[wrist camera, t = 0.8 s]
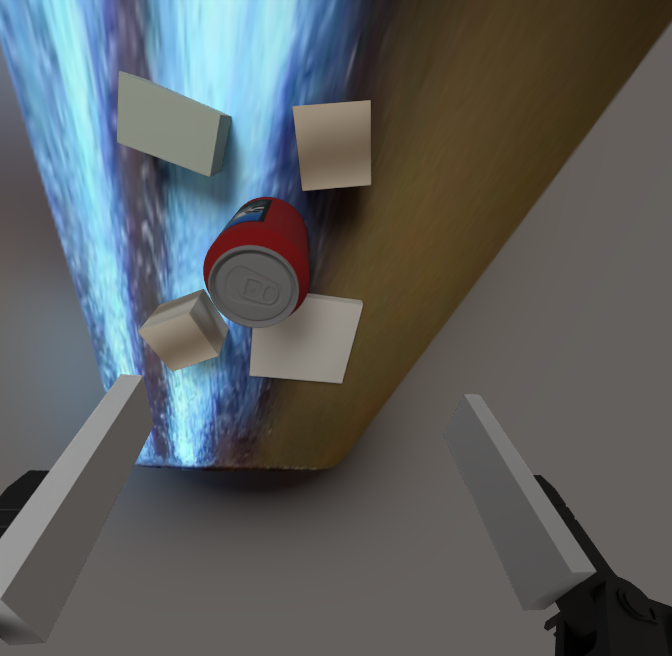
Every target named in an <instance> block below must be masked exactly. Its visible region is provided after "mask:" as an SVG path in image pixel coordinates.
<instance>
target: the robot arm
mask: <svg viewBox="0 0 672 656" xmlns="http://www.w3.org/2000/svg"><path fill="white" fill-rule="evenodd" d="M153 426H154V424H153V419H152V415H151V410H150V406H149V401H148V396H147V392H146V387H145V382H144V378H143V376H140V375H123V374H121V375H120V376H119V377H118V379H117V380H116V382H115V383H114V384H113V386H112V387H111V388H110V390H109V391H108V392H107V394H106V395H105V397H104V398H103V399H102V401H101V402H100V403H99V405H98V406H97V408H96V409H95V410H94V412H93V413H92V414H91V416H90V417H89V418H88V420H87V421H86V423H85V424H84V425H83V427H82V428H81V429H80V431H79V432H78V433H77V435H76V436H75V438H74V439H73V440H72V442H71V443H70V444H69V446H68V447H67V449H66V450H65V451H64V453H63V454H62V455H61V457H60V458H59V459H58V461H57V462H56V464H55V465H54V466H53V468H52V469H51V470H50V471H35V470H31V471H28V472H27V473H26V474H24V475H23V476H22V477H20V478H19V479H18V480H17V481H15V482H14V483H13V484H11V485H10V486H9V487H8V488H7V489H6V490H5V491H4V492H3V494H2V495H1V496H0V638H1V639H2V640H3V641H5V642H6V643H7V644H9V645H20V644H35V643H46V641H47V639H48V637H49V635H50V633H51V631H52V629H53V627H54V625H55V623H56V621H57V619H58V617H59V615H60V613H61V611H62V609H63V607H64V605H65V603H66V601H67V599H68V597H69V595H70V593H71V591H72V589H73V587H74V584H75V583H76V580H77V578H78V577H79V575H80V573H81V571H82V568H83V567H84V565H85V563H86V561H87V558H88V556H89V554H90V552H91V550H92V548H93V546H94V544H95V542H96V540H97V538H98V536H99V534H100V532H101V530H102V528H103V526H104V524H105V522H106V520H107V518H108V516H109V514H110V512H111V510H112V508H113V506H114V504H115V502H116V500H117V498H118V496H119V494H120V492H121V490H122V488H123V486H124V484H125V482H126V480H127V478H128V476H129V473H130V472H131V470H132V468H133V466H134V464H135V462H136V460H137V458H138V456H139V454H140V452H141V450H142V448H143V446H144V444H145V442H146V440H147V438H148V436H149V434H150V432H151V430H152V428H153ZM443 436H444V438H445V440H446V443H447V445H448V447H449V449H450V451H451V454H452V456H453V458H454V460H455V462H456V464H457V467H458V469H459V471H460V473H461V475H462V478H463V480H464V482H465V484H466V486H467V489H468V491H469V493H470V495H471V497H472V499H473V502H474V504H475V506H476V508H477V511H478V513H479V515H480V517H481V519H482V521H483V524H484V526H485V528H486V530H487V532H488V535H489V537H490V539H491V541H492V543H493V546H494V548H495V550H496V552H497V554H498V556H499V559H500V561H501V563H502V565H503V567H504V570H505V572H506V574H507V576H508V578H509V581H510V583H511V585H512V587H513V589H514V592H515V594H516V596H517V598H518V600H519V603H520V605H521V607H522V609H523V611H527V610H542V609H546V608H547V607H548V606H550V605H551V604H553V603H554V602H556V604H557V606H558V608H559V610H560V612H559V613H558V614H556V615H555V616H553V617H552V618H550V619H549V620H547V621H546V623H545V626H544V628H545V629H546V630H547V631H548V630H550V629H551V628H553V627H554V626H556V632H555V633H554V636H555V637H556V644H555V645H556V646H555V656H672V607H671V606H668V605H665V604H662V603H660V602H657V601H654V600H651V599H648V598H647V596H646V595H645V594H644V593H643V592H642V591H641V590H640V589H638V588H637V587H636V586H634V585H633V584H632V583H631V582H629V581H627V580H625V579H623V578H620V577H618V576H617V575H616V574H615V573H614V572H613V571H612V569H611V568H610V567H609V565H608V564H607V563H606V561H605V560H604V558H603V557H602V555H601V554H600V552H599V551H598V550H597V548H596V547H595V545H594V544H593V542H592V541H591V540H590V538H589V537H588V535H587V534H586V532H585V531H584V530H583V528H582V527H581V525H580V524H579V522H578V521H577V520H575V518H574V515H573V514H572V512H571V511H570V509H569V508H568V507H566V504H565V502H564V501H563V499H562V498H561V497H560V495H559V494H558V492H557V491H556V490H555V488H554V487H553V486H552V485H551V484H550V483H548V482H547V481H546V480H545V479H544V478H543V477H542V476H541V475H532V473H531V471H530V470H529V469H528V467H527V465H526V464H525V462H524V461H523V459H522V458H521V456H520V455H519V453H518V452H517V450H516V449H515V447H514V446H513V444H512V443H511V441H510V440H509V438H508V437H507V435H506V434H505V432H504V431H503V429H502V428H501V426H500V425H499V423H498V422H497V420H496V419H495V417H494V416H493V414H492V413H491V411H490V410H489V408H488V406H487V405H486V403H485V402H484V401H483V399H482V397H481V396H480V395H477V394H464V395H463V397H462V398H461V400H460V402H459V405H458V407H457V408H456V410H455V412H454V414H453V416H452V418H451V420H450V422H449V424H448V426H447V428H446V430H445V432H444V434H443Z"/></svg>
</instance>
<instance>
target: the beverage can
mask: <svg viewBox="0 0 672 656" xmlns="http://www.w3.org/2000/svg"><path fill="white" fill-rule="evenodd" d="M203 275H204V281H205V285H206V288H207V290H208V292H209V294H210V297H211V299H212V301H213V303H214V305H215V306H216V308H217V309H218V310H219V311H220V312H221V313H222V314H223V315H224V316H225V317H226V318H228V319H229V320H231V321H232V322H234V323H237V324H239V325H242V326H245V327H251V328H265V327H270V326H273V325H276V324H278V323H280V322H282V321H283V320H285V319H286V318H287V317H289V316H290V315H292V314H293V313H294V312H295V311H296V310H297V309H298V308H299V307H300V306H301V305H302V303H303V302H304V300H305V298H306V296H307V293H308V289H309V283H310V271H309V248H308V235H307V229H306V225H305V223H304V220H303V219H302V217H301V215H300V214H299V213H298V211H297V210H296V209H295V208H294V207H292V206H291V205H290V204H288V203H287V202H285V201H283V200H280V199H277V198H272V197H260V198H256V199H253V200H251V201H249V202H247V203H246V204H244V205H243V206H242V207H241V208H240V209H239V210H238V212H237V213H236V214H235V215H234V216H233V218H232V219H231V220H230V221H229V223H228V224H227V225H226V227H225V228H224V229H223V231H222V232H221V233H220V235H219V236H218V237H217V239H216V240H215V241H214V243H213V244H212V246H211V247H210V249H209V250H208V252H207V255H206V257H205V261H204V266H203Z"/></svg>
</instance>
